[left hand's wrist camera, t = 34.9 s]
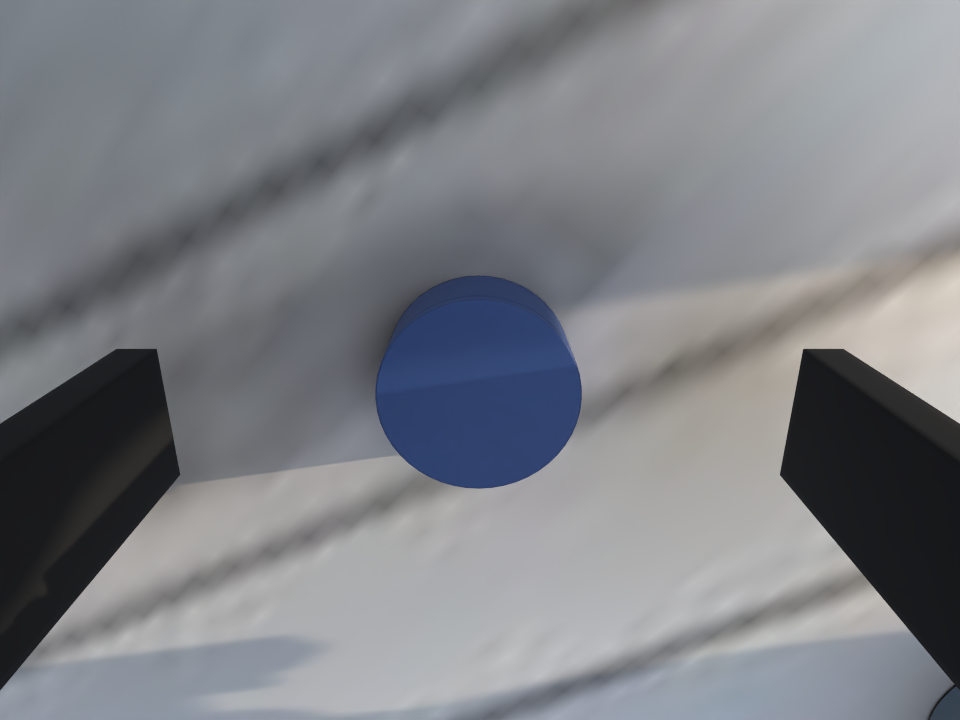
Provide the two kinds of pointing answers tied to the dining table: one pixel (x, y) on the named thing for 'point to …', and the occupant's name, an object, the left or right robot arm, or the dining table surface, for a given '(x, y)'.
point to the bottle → (948, 707)
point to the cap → (478, 384)
